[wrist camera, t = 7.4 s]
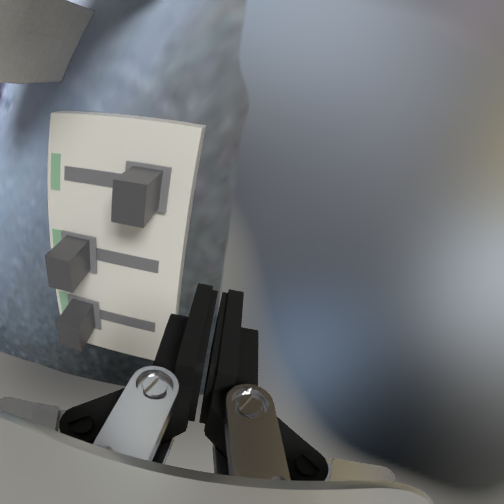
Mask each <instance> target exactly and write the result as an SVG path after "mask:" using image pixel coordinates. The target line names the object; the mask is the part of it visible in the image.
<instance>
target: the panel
mask: <svg viewBox="0 0 504 504" xmlns="http://www.w3.org/2000/svg"><path fill="white" fill-rule="evenodd" d="M205 129H206V126H205V125H199V124H193V123H187V122H180V121H173V120H166V119H158V118H150V117H142V116H133V115H123V114H112V113H100V112H85V111H65V110H63V111H57V112H52V113H51V117H50V130H49V147H48V212H49V230H50V243H51V249H52V248H53V247H54V246H55V245H57V244H58V243H59V242H60V241H61V240H62V237H61V231H62V230H65V231H69V232H74V233H79V234H84V235H88V236H93V237H96V252H97V274H96V273H91V272H88V273H87V275H86V276H85V277H84V279H83V280H82V281H81V283H80V284H79V285H78V286H77V288H76V289H75V290H74V292H73V293H70V292H66V291H63V290H59V289H56V293H57V299H58V305H59V311H60V315H61V314H62V312H63V311H64V310H65V308H66V307H67V305H68V297H67V294H72V295H75V296H79V297H82V298H86V299H90V300H94V301H97V302H99V307H100V318H101V328H102V329H101V330H98V329H94V330H93V332H92V334H91V336H90V338H89V339H88V341H87V343H89V344H93V345H96V346H100V347H103V348H107V349H110V350H114V351H118V352H121V353H125V354H129V355H133V356H137V357H141V358H146V359H150V360H155V357H156V354H157V351H158V348H159V345H160V343H161V340H162V337H163V334H164V331H165V328H166V325H167V322H168V320H169V317H170V315H171V313H172V314H177V315H178V311H179V302H180V293H181V284H182V275H183V267H184V259H185V252H186V244H187V237H188V230H189V223H190V216H191V210H192V203H193V197H194V191H195V184H196V178H197V172H198V167H199V161H200V155H201V150H202V144H203V139H204V134H205ZM126 161H134V162H141V163H147V164H154V165H160V166H166V167H172V172H171V179H170V186H169V194H168V202H167V210H166V213H161V212H155V214H154V215H153V216H152V218H151V219H150V220H149V222H148V223H147V224H146V226H145V227H144V228H140V227H135V226H130V225H124V224H119V223H114V222H111V207H112V188H113V179H114V178H116V177H117V176H119V175H120V174H122V173H123V172H125V169H126Z"/></svg>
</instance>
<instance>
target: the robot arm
mask: <svg viewBox="0 0 504 504" xmlns="http://www.w3.org/2000/svg"><path fill="white" fill-rule="evenodd" d="M212 289H213V286H210V285H205V284H200V283H198V286H197V290H196V293H195V297H194V300H193V303H192V307H191V310H190V314H189V317H186V316H181V315H177V314H172V313H171V315H170V317H169V320H168V322H167V325H166V328H165V331H164V334H163V337H162V340H161V343H160V345H159V348H158V351H157V354H156V357H155V360H154V363H153V366H147V367H143V368H141V369H139V370H138V371H136V372H135V373H134V375H133V376H132V378H131V379H130V381H129V383H128V384H127V386H126V388H123V389H121V390H118V391H116V392H113V393H110V394H108V395H105V396H102V397H100V398H97V399H94V400H92V401H89V402H86V403H83V404H81V405H78V406H75V407H72V408H71V409H69V410H67V411H65V410H60V409H59V407H57V406H51V405H45V404H40V403H35V402H30V401H25V400H21V399H16V398H12V397H4V398H1V399H0V504H434V503H433V502H432V500H431V498H430V497H429V496H428V495H427V494H426V493H424V492H423V491H421V490H419V489H417V488H414V487H412V486H408V485H405V484H401V483H396V478H395V476H394V474H393V473H392V472H391V471H390V470H389V469H387V468H385V467H382V466H376V465H369V464H363V463H358V462H352V461H346V460H342V459H337V458H333V459H332V460H329V459H325V458H324V457H323V456H322V455H321V454H320V453H319V452H318V451H317V450H315V449H314V448H313V447H312V446H310V445H309V444H308V443H307V442H306V441H304V440H303V439H302V438H301V437H300V436H299V435H297V434H296V433H295V432H294V431H293V430H292V429H290V428H289V427H288V426H287V425H286V424H285V423H284V422H282V421H281V420H280V419H279V418H278V417H277V415H276V411H275V405H274V402H273V399H272V397H271V395H270V394H269V393H268V392H267V391H266V390H264V389H263V388H261V387H259V386H258V331H257V330H253V329H247V328H242V327H241V321H242V308H243V292H240V291H235V290H230V289H229V291H228V293H225V292H222V297H221V302H220V307H219V312H218V317H217V322H216V327H215V332H214V337H213V342H212V348H211V353H210V359H209V365H208V371H207V377H206V383H205V390H204V396H203V403H202V408H201V415H200V421H199V422H200V423H205V429H204V431H205V435H206V436H207V437H208V439H209V440H210V441H211V442H212V443H213V461H214V473H206V472H201V471H195V470H190V469H184V468H179V467H174V466H169V465H165V462H166V460H167V457H168V455H169V452H170V450H171V447H172V445H173V442H174V439H175V436H177V435H179V434H181V433H183V432H185V431H186V428H187V424H188V420H189V421H194V420H195V414H196V408H197V402H198V397H199V391H200V385H201V380H202V374H203V368H204V363H205V357H206V352H207V346H208V341H209V335H210V330H211V325H212V319H213V314H214V309H215V304H216V298H217V293H218V291H215V290H212Z"/></svg>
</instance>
